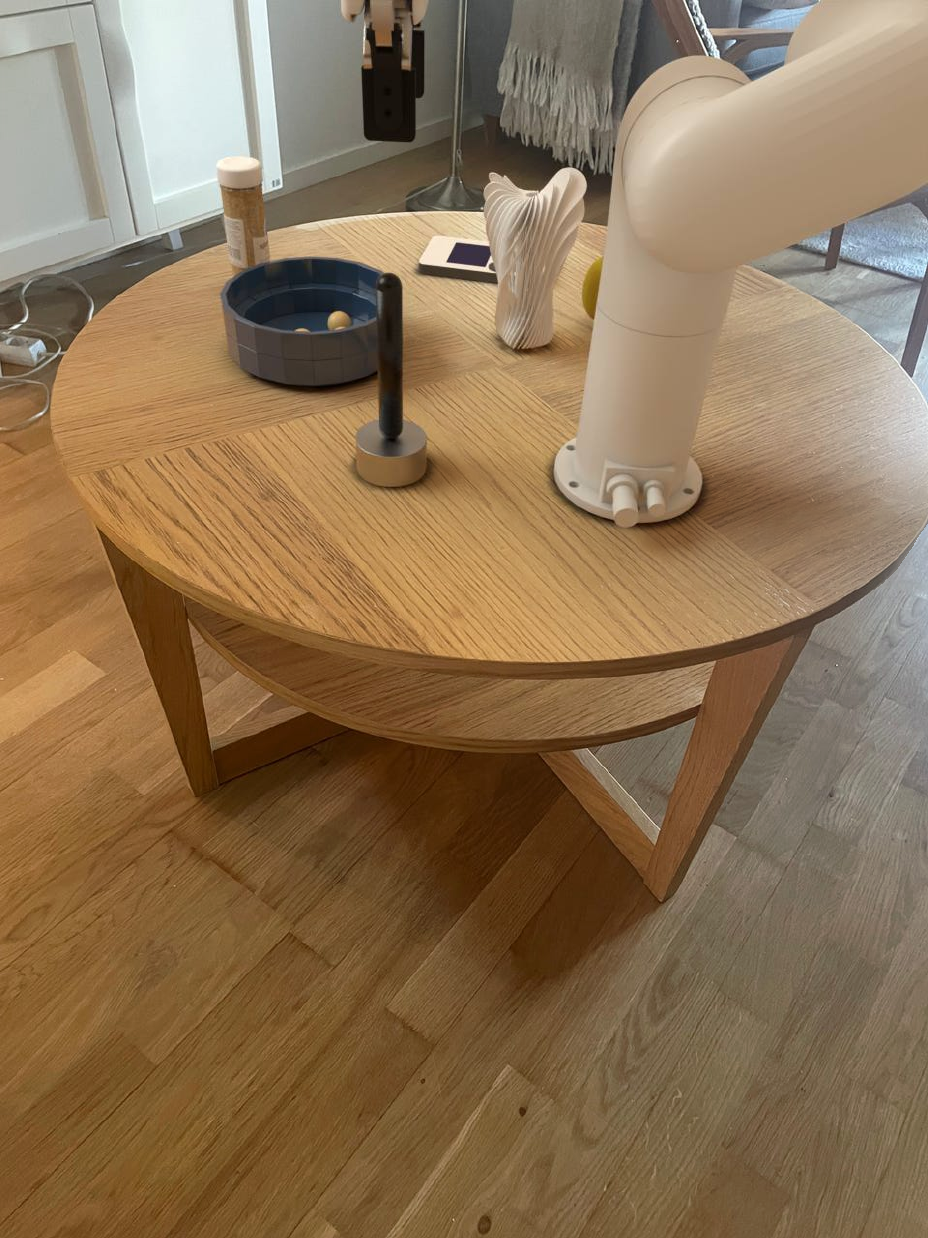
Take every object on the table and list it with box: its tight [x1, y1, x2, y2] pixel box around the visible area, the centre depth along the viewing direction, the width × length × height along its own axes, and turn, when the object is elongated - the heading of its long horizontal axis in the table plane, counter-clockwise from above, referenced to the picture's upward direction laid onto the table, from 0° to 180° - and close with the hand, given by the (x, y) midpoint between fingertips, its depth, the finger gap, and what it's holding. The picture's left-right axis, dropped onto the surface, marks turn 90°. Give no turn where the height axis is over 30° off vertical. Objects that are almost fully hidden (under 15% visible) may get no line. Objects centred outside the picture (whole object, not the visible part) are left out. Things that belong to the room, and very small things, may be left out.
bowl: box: [219, 255, 385, 387], centre depth 92 cm, size 17×17×6 cm
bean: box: [328, 311, 351, 330], centre depth 94 cm, size 2×2×2 cm
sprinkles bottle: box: [215, 155, 271, 277], centre depth 99 cm, size 5×5×14 cm
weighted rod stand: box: [354, 272, 428, 488], centre depth 73 cm, size 6×6×17 cm
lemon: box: [581, 255, 604, 321], centre depth 98 cm, size 6×6×8 cm
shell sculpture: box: [483, 167, 588, 350], centre depth 90 cm, size 8×8×18 cm
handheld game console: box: [418, 235, 545, 286], centre depth 110 cm, size 9×15×1 cm, turn 79°
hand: (396, 116), depth 61 cm, fingers open, 9 cm apart
